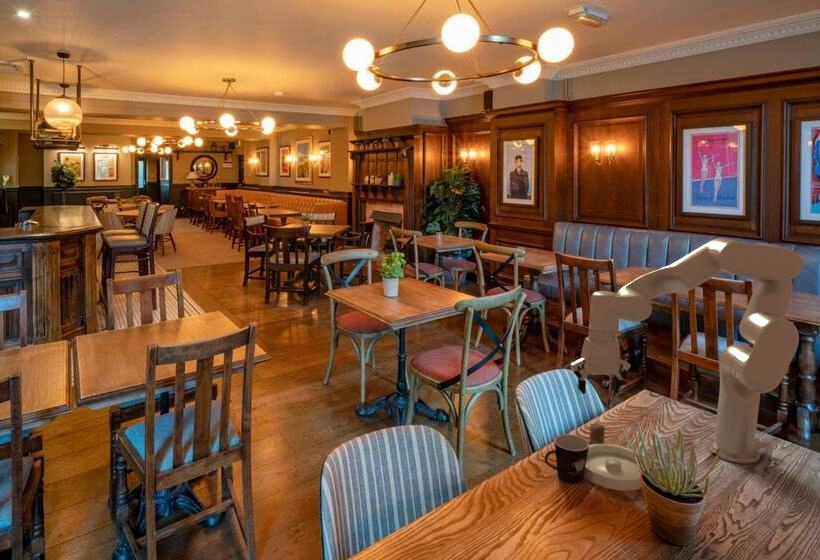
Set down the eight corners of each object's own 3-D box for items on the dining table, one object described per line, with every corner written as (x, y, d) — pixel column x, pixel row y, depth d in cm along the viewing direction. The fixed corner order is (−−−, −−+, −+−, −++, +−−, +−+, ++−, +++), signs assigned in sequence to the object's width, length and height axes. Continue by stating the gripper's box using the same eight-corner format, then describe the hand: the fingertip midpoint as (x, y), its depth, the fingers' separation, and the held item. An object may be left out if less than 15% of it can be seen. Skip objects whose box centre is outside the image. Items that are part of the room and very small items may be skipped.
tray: (630, 452, 146) (630, 442, 145) (663, 489, 128) (664, 478, 127) (568, 454, 145) (568, 444, 144) (593, 491, 127) (593, 481, 127)
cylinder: (600, 441, 152) (601, 423, 151) (605, 448, 148) (607, 429, 147) (587, 442, 152) (588, 423, 151) (592, 449, 148) (593, 430, 147)
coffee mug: (582, 468, 138) (584, 434, 136) (590, 487, 129) (592, 451, 127) (539, 467, 139) (540, 433, 137) (544, 485, 130) (545, 449, 129)
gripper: (626, 330, 148) (621, 386, 151) (567, 331, 147) (564, 387, 150) (638, 338, 140) (633, 396, 143) (577, 339, 139) (573, 397, 143)
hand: (598, 391), depth 147 cm, fingers open, 9 cm apart
